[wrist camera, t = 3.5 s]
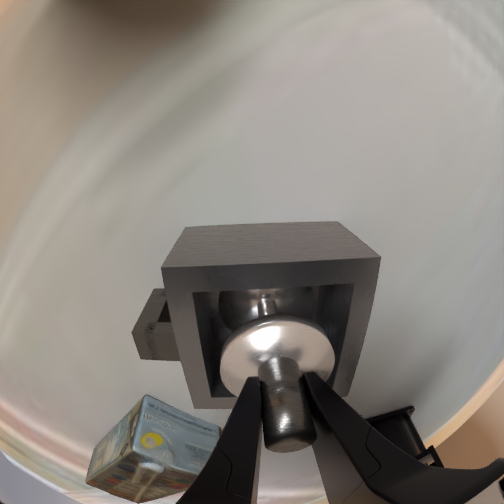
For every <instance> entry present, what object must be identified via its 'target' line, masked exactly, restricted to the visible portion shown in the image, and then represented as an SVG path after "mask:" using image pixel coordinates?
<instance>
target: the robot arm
mask: <svg viewBox="0 0 504 504" xmlns="http://www.w3.org/2000/svg"><path fill="white" fill-rule="evenodd" d="M302 379H303V382H304V386H305V390H306V394H307V398H308V402H309V405H310V409H311V413H312V417H313V421H314V425H315V429H316V433H317V439H316V441H315V442H314V443H313V444H312V447H313V450H314V453H315V457H316V460H317V464H318V467H319V471H320V474H321V478H322V481H323V484H324V488H325V491H326V495H327V498H328V502H329V504H504V477H503V478H502V479H501V480H500V481H498V480H497V479H498V478H500V477H501V476H502V475H503V474H504V458H498V459H496V460H495V461H494V462H492V463H491V464H490V465H488V466H487V467H484V468H481V469H472V470H471V469H451V468H444V466H443V464H442V462H441V460H440V458H439V456H438V454H437V453H436V451H435V449H434V447H433V445H431V446H430V447H428V449H427V450H426V448H425V446H424V444H423V442H422V440H421V438H420V436H419V434H418V432H417V430H416V428H415V426H414V424H413V422H412V420H411V418H410V417H411V415H412V413H413V412H414V410H415V408H414V406H410V407H407V408H404V409H401V410H398V411H395V412H392V413H388V414H385V415H382V416H378V417H374V418H371V419H367V420H365V419H364V418H363V417H361V416H360V415H359V414H358V413H357V412H356V411H355V410H354V409H353V408H352V407H351V406H350V405H349V404H348V403H347V402H346V401H345V400H344V399H342V398H341V397H340V396H339V395H338V394H337V393H336V392H335V391H334V390H333V389H332V388H331V387H330V386H329V385H328V384H327V383H326V382H325V381H324V380H323V379H322V378H321V377H320V376H319V375H318V374H317V373H316V372H315V371H308V372H304V373H303V375H302ZM261 440H262V397H261V389H260V381H259V377H258V376H250V377H247V379H246V381H245V384H244V386H243V388H242V390H241V392H240V395H239V397H238V399H237V401H236V403H235V406H234V408H233V410H232V412H231V414H230V416H229V418H228V421H227V423H226V425H225V427H224V429H223V431H222V433H221V435H220V437H219V439H218V441H217V443H216V446H215V447H214V449H213V451H212V453H211V455H210V457H209V459H208V460H207V462H206V464H205V466H204V467H203V469H202V470H201V472H200V473H199V475H198V476H197V477H196V479H195V480H194V481H193V483H192V484H191V485H190V487H189V488H188V489H187V490H186V492H185V493H184V494H183V496H182V497H181V498H180V499H179V500H178V502H177V503H176V504H257V494H258V481H259V468H260V455H261ZM432 460H434V462H433V463H432V464H430V465H428V464H427V463H429V462H430V461H432ZM0 504H4V503H3V502H1V501H0Z"/></svg>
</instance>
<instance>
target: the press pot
mask: <svg viewBox="0 0 504 504" xmlns="http://www.w3.org/2000/svg"><path fill="white" fill-rule="evenodd" d="M380 260H381V256H379V255H378V254H377V253H376V252H375V251H374V250H372V249H371V248H370V247H369V246H368V245H366V244H365V243H364V242H363V241H361V240H360V239H359V238H358V237H357V236H355V235H354V234H353V233H352V232H350V231H349V230H348V229H347V228H345V227H344V226H343V225H341V224H340V223H339V222H295V223H264V224H239V225H218V226H199V227H185V229H184V231H183V232H182V234H181V235H180V237H179V239H178V240H177V242H176V243H175V245H174V247H173V248H172V250H171V252H170V253H169V255H168V256H167V258H166V260H165V261H164V263H163V265H162V267H161V271H162V277H163V282H164V288H165V289H154V290H153V292H152V293H151V295H150V297H149V299H148V301H147V303H146V305H145V307H144V309H143V311H142V313H141V315H140V317H139V319H138V321H137V323H136V325H135V327H134V329H133V331H132V335H133V338H134V341H135V344H136V347H137V350H138V353H139V356H140V358H141V359H145V360H166V361H181V363H182V367H183V371H184V375H185V378H186V382H187V385H188V389H189V392H190V395H191V399H192V402H193V405H194V408H195V409H233V408H234V406H235V403H236V401H237V399H238V397H237V396H235V395H234V394H232V393H231V392H230V391H229V390H228V389H227V388H226V387H225V385H224V383H223V381H222V379H221V375H220V364H221V352H222V348H223V345H224V343H225V341H226V340H227V338H228V337H229V336H230V335H231V334H232V333H233V332H232V331H230V330H229V328H228V327H227V326H226V325H225V324H224V322H223V320H222V318H221V316H220V313H219V304H218V302H219V294H220V291H236V290H258V289H276V288H292V287H307V286H311V288H312V291H313V307H312V311H311V313H310V315H309V317H308V319H310V320H312V321H314V322H315V323H317V324H318V325H319V326H320V327H321V328H322V329H323V330H324V332H325V333H326V335H327V337H328V339H329V342H330V344H331V346H332V349H333V351H334V355H335V362H334V367H333V370H332V372H331V374H330V376H329V378H328V379H327V380H326V381H325V382H326V383H327V384H328V385H329V386H330V387H331V388H332V389H333V390H334V391H335V392H336V393H337V394H338V395H339V396H340V397H345V396H347V395H348V393H349V390H350V387H351V383H352V380H353V377H354V374H355V371H356V367H357V364H358V360H359V357H360V353H361V350H362V346H363V342H364V338H365V335H366V330H367V326H368V322H369V318H370V313H371V309H372V304H373V299H374V294H375V289H376V284H377V278H378V273H379V267H380Z"/></svg>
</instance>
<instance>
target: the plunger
mask: <svg viewBox="0 0 504 504" xmlns="http://www.w3.org/2000/svg"><path fill="white" fill-rule="evenodd" d="M218 304H219V313H220V316H221V318H222V320H223V322H224V324H225V325H226V326H227V327H228V328H229V330H230V331H232V332H233V333H232V334H231V335H230V336H229V337H228V338H227V340H226V341H225V343H224V345H223V348H222V352H221V364H220V375H221V379H222V381H223V383H224V385H225V387H226V388H227V389H228V390H229V391H230V392H231V393H232V394H234V395H235V396H237V397H239V395H240V392H241V390H242V388H243V386H244V384H245V381H246V379H247V377H250V376H258V377H259V381H260V389H261V397H262V423H263V433H264V443H265V447H266V448H267V449H268V450H270V451H273V452H282V453H284V452H293V451H298V450H301V449H304V448H306V447H308V446H310V445H311V444H313V443H314V442H315V441H316V439H317V433H316V429H315V425H314V421H313V417H312V413H311V409H310V405H309V402H308V398H307V394H306V390H305V386H304V382H303V379H302V375H303V373H304V372H308V371H315V372H316V373H317V374H318V375H319V376H320V377H321V378H322V379H323V380H324V381H326V380H327V379H328V378H329V376H330V374H331V372H332V370H333V367H334V362H335V355H334V351H333V349H332V346H331V344H330V342H329V339H328V337H327V335H326V333H325V332H324V330H323V329H322V328H321V327H320V326H319V325H318V324H317V323H315V322H314V321H312V320H310V319H308V317H309V315H310V313H311V311H312V307H313V291H312V288H311V286H307V287H292V288H276V289H258V290H236V291H220V294H219V302H218Z"/></svg>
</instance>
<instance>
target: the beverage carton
mask: <svg viewBox="0 0 504 504" xmlns="http://www.w3.org/2000/svg"><path fill="white" fill-rule="evenodd" d="M219 437H220V434H219V426H217V425H214V424H211V423H209V422H206V421H204V420H201V419H198V418H196V417H193V416H191V415H189V414H187V413H184V412H182V411H180V410H178V409H175V408H173V407H171V406H169V405H167V404H165V403H163V402H161V401H159V400H157V399H154V398H152V397H150V396H148V395H145V396H144V397H143V398H142V399H141V400H140V401H139V402H138V403H137V404H136V405H135V406H134V408H133V409H132V410H131V411H130V412H129V413H128V414H127V415H126V416H125V417H124V418H123V419H122V420H121V421H120V422H119V423H118V424H117V425H116V426H115V427H114V428H113V429H112V430H111V431H110V432H109V433H108V434H107V435H106V436H105V437H104V438H103V439H102V440H101V441H100V443H99V444H98V445H97V446H96V447H95V448H94V451H93V454H92V458H91V461H90V465H89V468H88V472H87V477H86V483H87V484H88V485H91V486H93V487H96V488H98V489H101V490H103V491H106V492H108V493H110V494H112V495H115V496H118V497H121V498H124V499H127V500H130V501H132V502H135V503H138V504H139V503H143V502H147V501H151V500H155V499H159V498H163V497H166V496H169V495H173V494H176V493H180V492H183V491H186V490H187V489H188V488H189V487H190V485H191V484H192V483H193V481H194V480H195V479H196V477H197V476H198V475H199V473H200V472H201V470H202V469H203V467H204V466H205V464H206V462H207V460H208V459H209V457H210V455H211V453H212V451H213V449H214V447H215V446H216V443H217V441H218V439H219Z"/></svg>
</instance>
